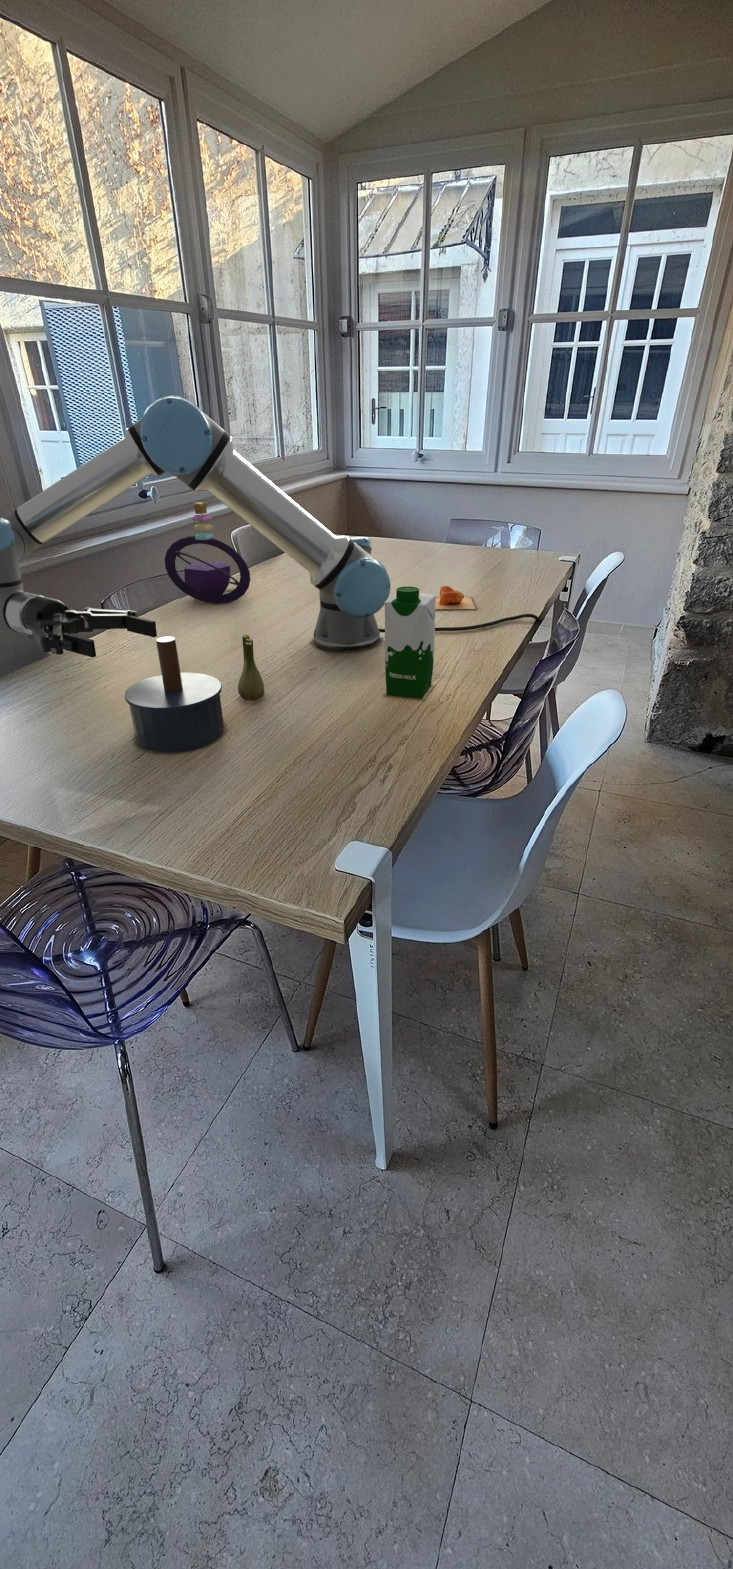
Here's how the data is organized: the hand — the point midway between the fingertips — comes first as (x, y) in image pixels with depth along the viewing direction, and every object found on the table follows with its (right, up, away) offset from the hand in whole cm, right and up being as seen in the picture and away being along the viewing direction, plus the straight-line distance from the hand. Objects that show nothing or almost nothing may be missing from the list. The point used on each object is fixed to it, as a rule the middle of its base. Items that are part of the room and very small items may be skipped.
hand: (125, 638), depth 117 cm
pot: (+9, -16, +2) cm, 18 cm away
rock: (+63, +24, +71) cm, 98 cm away
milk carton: (+49, -7, +17) cm, 52 cm away
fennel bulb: (+19, -8, +15) cm, 26 cm away
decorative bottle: (-4, +29, +82) cm, 87 cm away
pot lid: (+9, -9, -2) cm, 13 cm away
